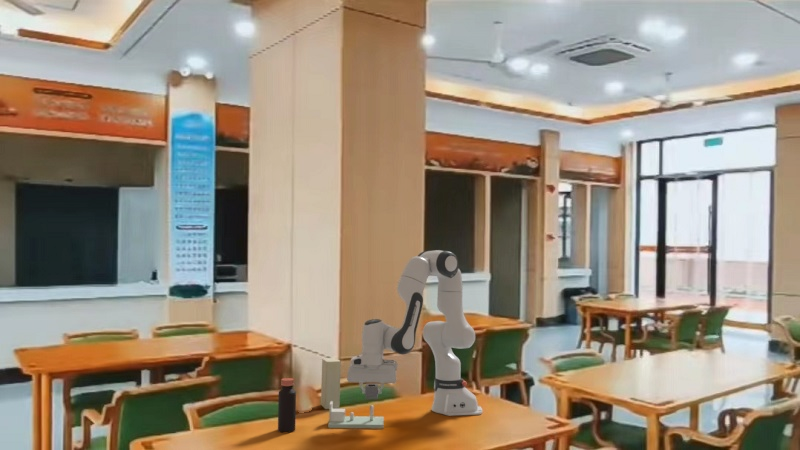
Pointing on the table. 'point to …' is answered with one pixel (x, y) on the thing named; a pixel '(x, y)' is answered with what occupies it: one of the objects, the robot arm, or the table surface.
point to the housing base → (359, 421)
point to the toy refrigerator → (330, 382)
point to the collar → (371, 391)
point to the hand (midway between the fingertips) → (371, 393)
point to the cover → (336, 414)
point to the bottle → (287, 406)
